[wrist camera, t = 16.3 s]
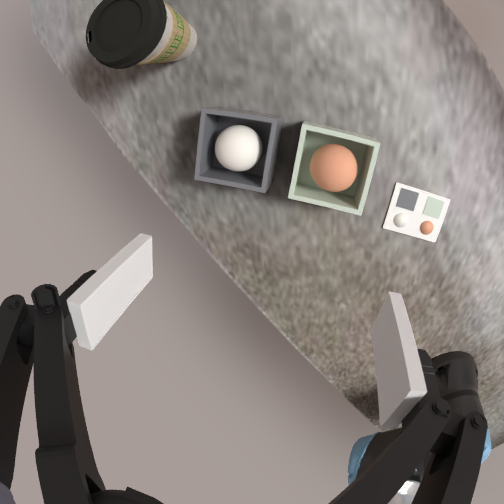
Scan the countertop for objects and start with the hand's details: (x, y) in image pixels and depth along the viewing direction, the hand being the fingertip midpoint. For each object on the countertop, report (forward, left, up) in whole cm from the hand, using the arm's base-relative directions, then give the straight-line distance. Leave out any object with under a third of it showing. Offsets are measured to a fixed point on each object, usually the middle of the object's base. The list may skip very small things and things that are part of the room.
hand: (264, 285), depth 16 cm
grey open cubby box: (+2, +8, -29) cm, 30 cm away
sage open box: (+2, -4, -29) cm, 29 cm away
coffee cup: (+16, +20, -29) cm, 39 cm away
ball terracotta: (+2, -4, -25) cm, 26 cm away
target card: (-2, -18, -29) cm, 34 cm away
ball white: (+2, +8, -25) cm, 26 cm away
